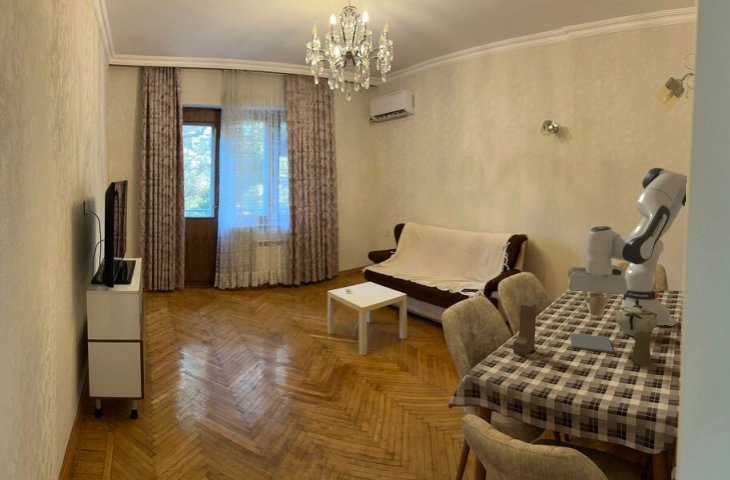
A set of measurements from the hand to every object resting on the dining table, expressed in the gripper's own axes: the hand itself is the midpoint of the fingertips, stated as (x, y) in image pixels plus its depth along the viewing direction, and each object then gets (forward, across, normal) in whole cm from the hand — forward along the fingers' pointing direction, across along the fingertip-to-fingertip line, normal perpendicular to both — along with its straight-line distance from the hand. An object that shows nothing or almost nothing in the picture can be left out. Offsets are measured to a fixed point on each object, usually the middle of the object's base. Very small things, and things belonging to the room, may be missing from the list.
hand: (595, 303), depth 167 cm
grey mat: (+17, -1, 0) cm, 17 cm away
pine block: (0, 0, +8) cm, 8 cm away
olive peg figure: (+17, +14, -13) cm, 26 cm away
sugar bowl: (+17, +18, +20) cm, 31 cm away
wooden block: (+17, -25, -18) cm, 35 cm away
